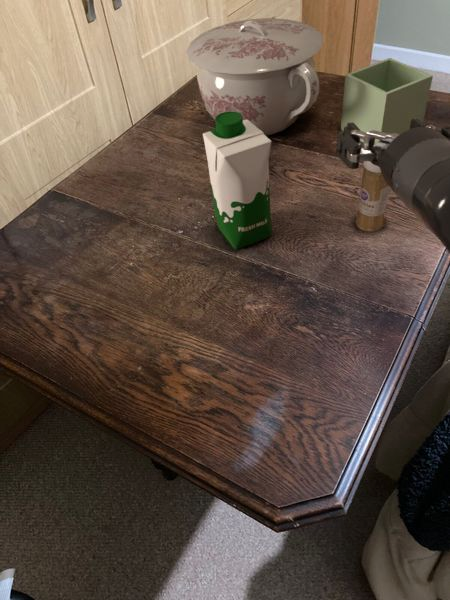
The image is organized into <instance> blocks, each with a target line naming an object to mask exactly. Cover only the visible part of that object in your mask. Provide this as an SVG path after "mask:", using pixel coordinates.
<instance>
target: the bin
mask: <svg viewBox="0 0 450 600" xmlns="http://www.w3.org/2000/svg"><path fill="white" fill-rule="evenodd" d="M433 78H434V75H432V74H430V73H427V72H425V71H423V70H420V69H418V68H416V67H412V66H411V65H408V64H406V63H403V62H400V61H398V60H396V59H393V58H391V57H388V58H386V59H383V60H380V61H378V62H375V63H373V64H370V65H367V66H365V67H362V68H360V69H357V70H354V71H351V72H349V73H346V74H345V75H344V86H343V97H342V98H343V99H342V109H341V122H340V130H341V131H342V132H344V127H345V126H347V123H354V124H355V125H356V126H357V127H358V128H359V129H360V130H361V131H363V132H369V131H372V130H376V131H380V132H384V133H388V134H391V133H397V134H401V133H403V132H405V131H407V130H409V129H410V124H411V120H412V119H419V120H420V121H421V122H423V123H424V121H425V115H426V110H427V106H428V101H429V97H430V91H431V86H432V82H433ZM378 141H379V139H375V144H376V143H377V142H378ZM360 143H363V144H364V140H363V139H360ZM375 144H374V145H375Z"/></svg>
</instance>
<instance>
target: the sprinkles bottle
mask: <svg viewBox="0 0 450 600" xmlns="http://www.w3.org/2000/svg"><path fill="white" fill-rule="evenodd" d="M362 167H363V171H362V177H361V186H360V191H359V197H358V204H357V214H356V219H355V225H356V227H357V228H358V229H360V230H361V231H364V232H369V233H370V232H378V231H379V230H381V229H382V228H383V226H384V217H385V212H386V208H387V204H388V198H389V191H390V186H389V185H388V184H387V183H386V181H385V180H384V178H383V175H382V173H381V170H380V167H378V166H376V165H374V164H372V163H371V162H370V161H364V162H362Z"/></svg>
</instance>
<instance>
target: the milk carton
mask: <svg viewBox="0 0 450 600" xmlns="http://www.w3.org/2000/svg"><path fill="white" fill-rule="evenodd" d="M214 123H215V128H213V129H209V131H206V132H203V133H202V139H203V142H204V148H205V153H206V160H207V166H208V174H209V182H210V189H211V194H212V195H211V196H212V203H213V209H214V216H215V220H216V225H217V228H218V230H219V231H220V233H222V235H223V236H224V237H225V238H226V240H227V241H228V243H229V244H230V245H231V247H232V248H233V249H234V251H235V250H236V251H237V250H239V249H242V248H245V247H247V246H249V245H252V244H255V243H258V242H260V241H262V240H265V239H267V238H271V237H273V230H272V229H273V228H272V215H271V213H272V212H271V195H270V193H271V192H270V191H271V190H270V171H269V170H270V166H269V165H270V163H269V158H270V153H271V146H272V140H271V139H270V138H268V136H267V135H266V136H265V135H264V133H263V132H262V131H261V130H259V129H258V128H257V127H256V126H255V125H253V124H252V123H251V122H250V121H249V120H247V119H246V120H243V118H242V115H241V114H240V113H238V112H232V111H230V112H224V113H221V114H219V115H218V116H217V117H216V118H215V120H214Z"/></svg>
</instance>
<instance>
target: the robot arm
mask: <svg viewBox="0 0 450 600" xmlns="http://www.w3.org/2000/svg"><path fill="white" fill-rule="evenodd" d="M336 138H337V141H336V149H335V154H336V155H337V156H338V158H339V159H340V160H341V161H342V162H343V163H344V164H345V166H346V167H347V168H348V169H351V170H356V169H358V168H359V165H360V163H363V162H364V161H370V162H371V163H372V164H374V165H376V166H378V167H380V170H381V173H382V175H383V178H384V180H385V181H386V183H387V184H388V185H389V186H390V187H389V189H390V190H392V191H393V193H394V194H395V195H396V196H397V198H399V200H400V201H401V203H403V205H404V206H405V207H406V208H407V209H408V210H409V211H410V212H411V213H412V214H414V215H416V216H417V217H418V218H419V220H420V221H421V222H422V223H423V225H424V226H425V227H426V228H427V230H429V231H430V232H431V233H432V234H433V235H434V236H435V237H436V238H437V239H438V240H439V241H440V243H441V244H442V245H443V246H444V248H445V249H446V250H447V252H448V254H450V125H445V126H442V127H441V129H437V126H435V125H432V124H429V125H428V124H427V123H425V122H424V121H423V122H421V121H420V120H419V119H412V120H411V124H410V129H409V130H407V131H405V132H403V133H401V134H397V133H391V134H388V133H384V132H380V131H376V130H372V131H369V132H363V131H361V130H360V129H359V128H358V127H357V126H356V125H355V124H354V123H347V126H345V127H344V131H341V132H338V133H337V137H336ZM360 139H363V140H364V143H363V144H362V142H361V141H360ZM375 139H379V141H378V142H377V143H376V144H375ZM374 144H375V145H374ZM362 145H363V147H362Z"/></svg>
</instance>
